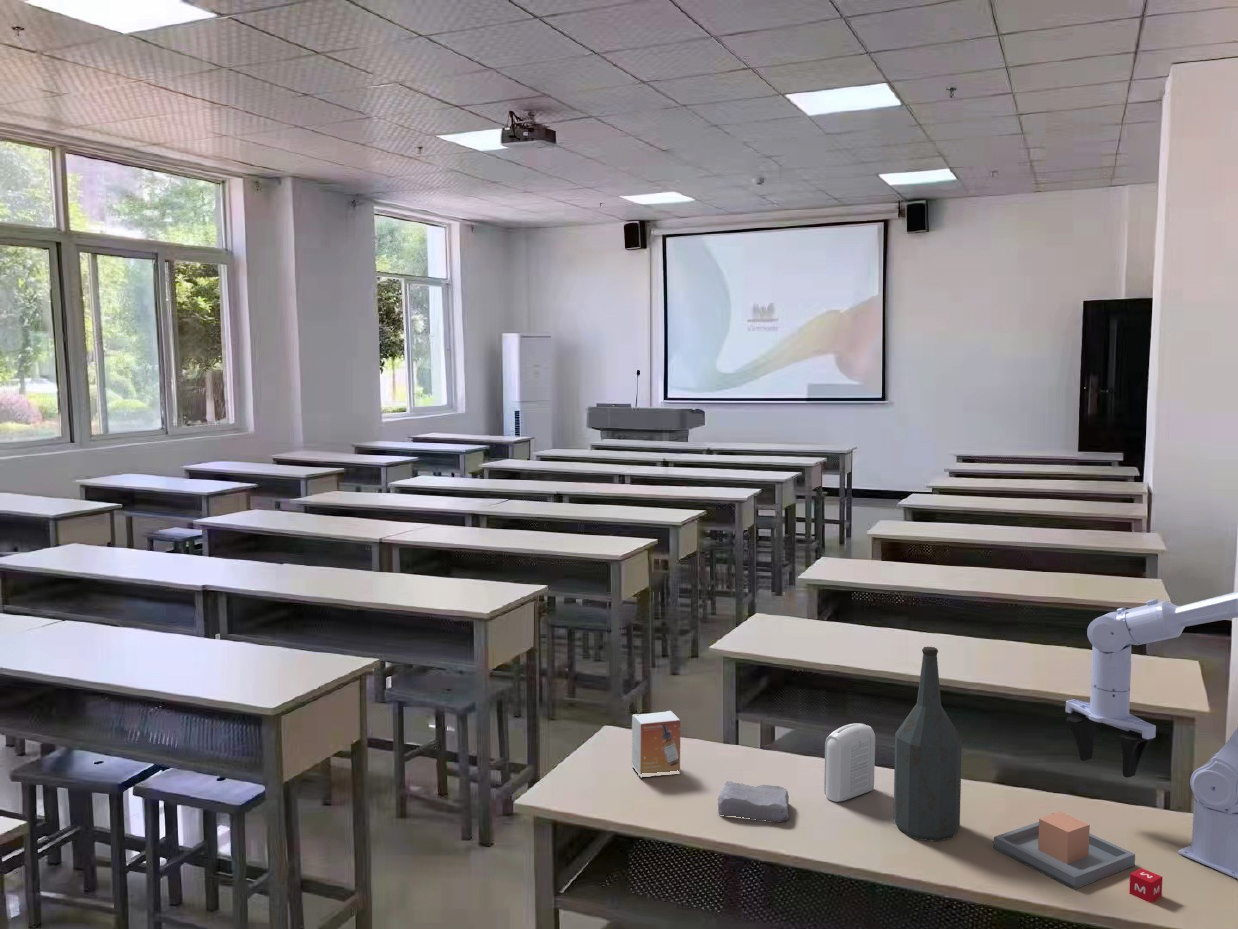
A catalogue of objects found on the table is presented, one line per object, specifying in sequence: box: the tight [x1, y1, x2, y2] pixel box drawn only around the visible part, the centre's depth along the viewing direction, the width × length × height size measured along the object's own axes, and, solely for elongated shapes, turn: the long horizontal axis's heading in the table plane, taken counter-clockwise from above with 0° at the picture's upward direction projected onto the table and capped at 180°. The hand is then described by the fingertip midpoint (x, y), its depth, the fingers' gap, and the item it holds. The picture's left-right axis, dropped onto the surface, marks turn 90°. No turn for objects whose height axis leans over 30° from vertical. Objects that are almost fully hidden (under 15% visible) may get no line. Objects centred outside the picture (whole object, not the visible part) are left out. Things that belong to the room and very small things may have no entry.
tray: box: [993, 821, 1136, 890], centre depth 145 cm, size 14×14×2 cm
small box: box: [631, 710, 681, 774], centre depth 177 cm, size 8×6×10 cm
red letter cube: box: [1128, 867, 1164, 904], centre depth 134 cm, size 3×3×3 cm
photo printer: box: [823, 722, 876, 803], centre depth 167 cm, size 10×4×12 cm, turn 126°
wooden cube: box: [1038, 811, 1091, 864], centre depth 145 cm, size 5×5×5 cm
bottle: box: [893, 646, 963, 842], centre depth 153 cm, size 10×10×30 cm
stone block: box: [717, 780, 790, 823], centre depth 162 cm, size 12×5×10 cm
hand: (1107, 767), depth 155 cm, fingers open, 7 cm apart
